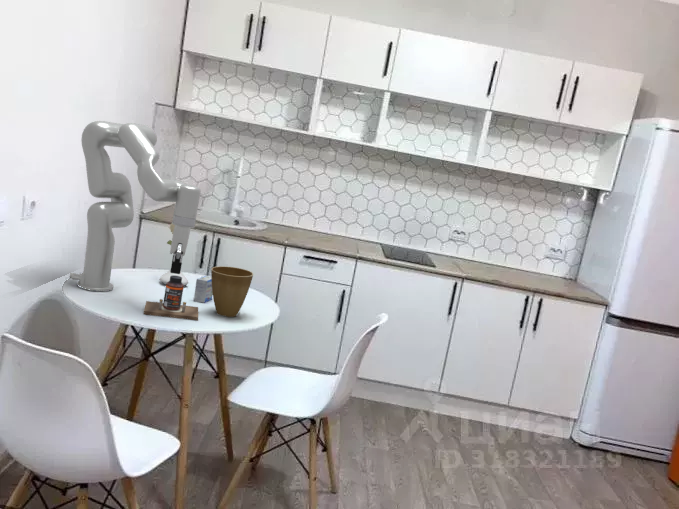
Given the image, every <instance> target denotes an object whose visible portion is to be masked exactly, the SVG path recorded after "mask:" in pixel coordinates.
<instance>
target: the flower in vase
mask: <svg viewBox="0 0 679 509" xmlns="http://www.w3.org/2000/svg"><path fill="white" fill-rule="evenodd" d="M174 227H175V225H173V224H172V223H170V225H169V227H168V228H169V230H170V232H171V234H172V235H173V232H174ZM171 243H172V239H171V240H170V239H169V240H168V241H167V242H166V244H167V245H168V246H169V245H170V246H171ZM172 254H173V253H172ZM173 255H174V254H173ZM173 255H172V256H173ZM170 271H171V269H170V270H169V271H166V272H164V273H163V274H162V275H161V276H160V277H159V281H160V282H161V283H162V284H165V285H166V283H167V282H169V281H170V276H180V277H182V281H181V282H182V284H183V285H184V286H186V285H188V284H189V279H188V277H187V276H185V275H184V274H183V272H181V271H180V274H175V273H171V272H170Z"/></svg>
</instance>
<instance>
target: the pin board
mask: <svg viewBox="0 0 679 509" xmlns="http://www.w3.org/2000/svg"><path fill="white" fill-rule="evenodd" d="M163 302H164V299H161V298H160V299H159V301H156V302H155V301H150V300H148V301H147V300H146V301H145V305H144V308H143V312H142V315H146V316H155V317H163V318H173V319H180V320H188V321H189V320H191V321H199V306H191V305H187V302H185V301H183V302H182V304H181V307H180V309H179V310H167V309H165V308H164V307H163Z"/></svg>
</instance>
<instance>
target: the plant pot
mask: <svg viewBox="0 0 679 509" xmlns="http://www.w3.org/2000/svg"><path fill="white" fill-rule="evenodd" d="M210 271H211V272H210V273H211V276H210V277H211V279H212V292H213V296H212V300H213V303H214V307H215V312H216V314H217V315H219V316H222V317H226V318H227V317H228V318H234V317H237V315H239V312H240V311H241V308H242V307H243V304H244V302H245V299H246V297H247V295H248V292H249V290H250V287H251V284H252V280H253V277H254V273H253V271H250V270H248V269H244V268H240V267H234V266H222V265H221V266H220V265H219V266H214V267H211V270H210Z"/></svg>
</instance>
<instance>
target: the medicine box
mask: <svg viewBox="0 0 679 509" xmlns="http://www.w3.org/2000/svg"><path fill="white" fill-rule="evenodd" d="M194 288H195V290H194V295H193V296H194V297H193V301H194V302H198V303H202V304H205V303H208V302H209V301H212V300H213V292H212V279H211V276H207V275H204V276H201V277H199V278H196V281H195V286H194Z"/></svg>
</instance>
